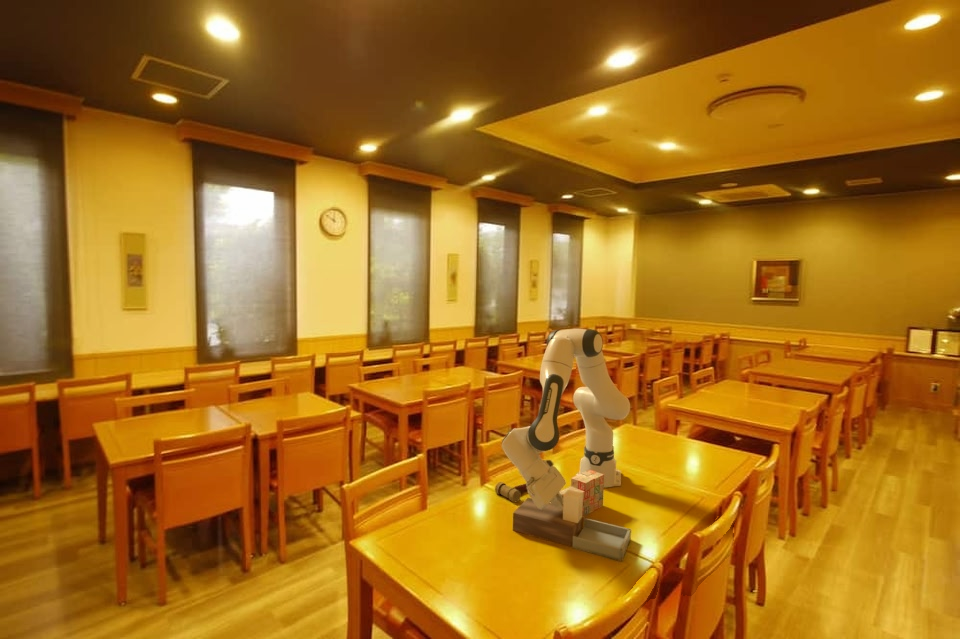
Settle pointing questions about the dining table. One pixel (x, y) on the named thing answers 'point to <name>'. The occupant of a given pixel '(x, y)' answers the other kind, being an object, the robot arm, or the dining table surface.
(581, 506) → the tile block
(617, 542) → the box
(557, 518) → the dark brown brick
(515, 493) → the gavel
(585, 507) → the stack of blocks
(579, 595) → the dining table surface
